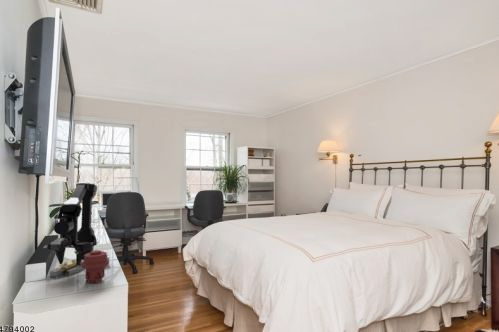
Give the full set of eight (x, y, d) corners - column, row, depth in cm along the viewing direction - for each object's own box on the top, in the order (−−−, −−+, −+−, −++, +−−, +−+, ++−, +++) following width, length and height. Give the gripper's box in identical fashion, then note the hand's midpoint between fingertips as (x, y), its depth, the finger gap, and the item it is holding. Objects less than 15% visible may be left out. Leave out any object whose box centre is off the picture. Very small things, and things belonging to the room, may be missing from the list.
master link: (72, 269, 134) (72, 259, 134) (78, 269, 133) (78, 259, 134) (59, 274, 127) (59, 263, 128) (66, 274, 127) (66, 263, 127)
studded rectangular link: (75, 265, 139) (75, 259, 139) (90, 266, 137) (90, 260, 137) (45, 276, 124) (45, 269, 124) (62, 278, 122) (62, 271, 122)
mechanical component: (105, 284, 115) (77, 287, 112) (110, 276, 124) (85, 278, 122) (106, 253, 115) (78, 255, 113) (111, 247, 125) (85, 249, 122)
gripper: (37, 232, 125) (36, 268, 125) (73, 234, 121) (72, 271, 121) (59, 228, 136) (58, 261, 135) (92, 230, 132) (91, 264, 132)
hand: (69, 264), depth 131 cm, fingers open, 9 cm apart
